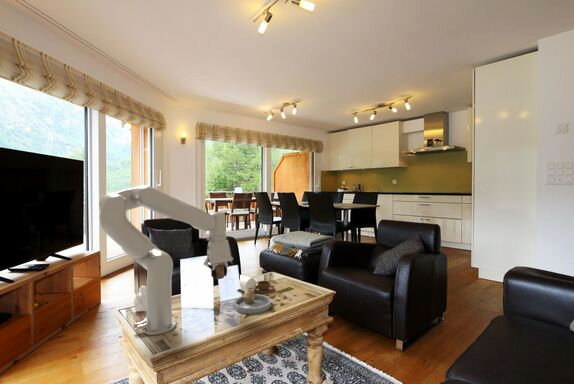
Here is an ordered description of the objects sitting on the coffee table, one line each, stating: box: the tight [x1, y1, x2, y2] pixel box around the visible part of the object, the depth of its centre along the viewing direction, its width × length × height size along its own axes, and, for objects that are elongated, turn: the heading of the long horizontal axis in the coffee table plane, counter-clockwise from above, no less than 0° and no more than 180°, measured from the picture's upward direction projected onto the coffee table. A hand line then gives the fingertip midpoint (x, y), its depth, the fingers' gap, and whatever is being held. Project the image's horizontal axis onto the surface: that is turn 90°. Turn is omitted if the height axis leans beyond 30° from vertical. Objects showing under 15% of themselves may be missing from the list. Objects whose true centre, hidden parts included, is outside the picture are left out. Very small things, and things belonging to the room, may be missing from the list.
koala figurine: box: [133, 285, 147, 313], centre depth 138 cm, size 8×7×12 cm
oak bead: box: [244, 289, 255, 304], centre depth 144 cm, size 5×5×6 cm
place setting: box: [248, 280, 275, 295], centre depth 162 cm, size 18×20×6 cm
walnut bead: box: [215, 263, 225, 280], centre depth 137 cm, size 5×5×6 cm
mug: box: [239, 274, 259, 292], centre depth 165 cm, size 12×10×8 cm
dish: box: [232, 293, 272, 315], centre depth 142 cm, size 18×18×2 cm
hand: (219, 276), depth 137 cm, fingers closed on walnut bead, 4 cm apart
